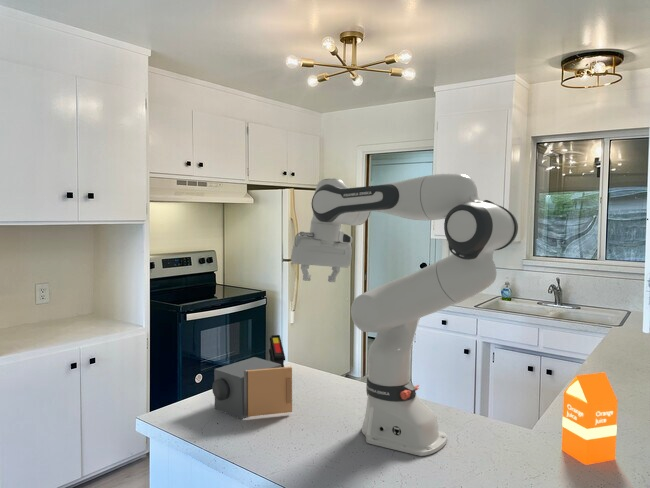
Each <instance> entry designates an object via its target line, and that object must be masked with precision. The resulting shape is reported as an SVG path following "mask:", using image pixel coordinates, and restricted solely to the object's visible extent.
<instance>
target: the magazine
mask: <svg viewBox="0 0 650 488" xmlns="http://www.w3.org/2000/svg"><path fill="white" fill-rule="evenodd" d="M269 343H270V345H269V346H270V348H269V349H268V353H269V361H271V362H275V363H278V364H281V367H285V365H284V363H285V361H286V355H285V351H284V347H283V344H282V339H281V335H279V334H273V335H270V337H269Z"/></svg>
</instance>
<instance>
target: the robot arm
mask: <svg viewBox="0 0 650 488" xmlns="http://www.w3.org/2000/svg"><path fill="white" fill-rule="evenodd" d="M311 211H312V219H311V221H310V229H309V232H306V231H300V232H298V233H296V235H295V236H294V243H293V246H292V249H291V250H292V251H291V255H290V261H291V262H292V264H296V265H300V270H301V272H302V274H303V275H302V280H303V281H305V282H310V281H311V278H312V274H309V269H310V266H319V267H331V270H332V272H331V274H330V275H328V279H327V282H329V283H336V278H337V276H338V274H339V273H340V271H341V268H344V269H348V268H349V267H350V266H351V264H352V254H353V251H352V250H353V248H352V245H351V244H352V243H353V237H352V236H351V235H349V234H348V233H346V232H345V231H343V230H342V229H341V227H342V226H341V225H347V226H353V227H354V226H362V225H363V224H364V223H366V222H367V221H368V220H369V219H368V218H370V215H371V212H377V213H381V214H382V213H383V214H388V215H392V216H395V217H399V218H402V219H407V220H413V221H436V220H437V221H438V220H444V222H443V229H444V234H445V238H446V241H447V242H448V243H447V244H448V250H449V251H450V252H451V254H450V255H449V256H445V257H444V258H442V259H439V260H437V261H436V262H433V263H431V264H430V265H427V266H424V267H423V268H421V269H418V270H417V271H414V272H412V273H409V274H406V275H403V276H401V277H398V278H396V279H393V280H391V281H388V282H386V283H384V284H381V285H378V286H376V287H373V288H371V289H369V290H367V291H365V292H363V293H362V294H360V295H358V296H357V297H355V298H354V300H353V301H352V302H351V303H352V304H351V306H350V315H351V320H352V322H353V324H354V325H355V327H356V328H357V329H359V331H361V332H364V333H372V334H373V333H376V336H375V338H374V340H373V342H371V345H370V346H369V349H368V358H367V360H368V364H367V365H368V369H367V370H368V371H367V373H368V375H367V378H366V388H365V389H366V395H367V400H366V401H367V402H366V407H365V409H366V410H365V414H364V420H363V423H362V426H361V433H362V434H363V435H364V436H365V441H366V443H367V444H370V445H373V446H377V447H381V448H387V449H389V450H390V449H391V450H394V451H398V452H403V453H407V454H411V455H415V456H420V457H424V456H429V455H432V454H435V453H437V452H439V451H440V450H441V449H442V448H443V447H445V446H446V444H447V443H448V434H447V433H446V432H444V431H442V430H440V428H439V422H438V418H437V416H436V413H435V412H434V411H433V410H432V409H430V407H428V406H427V404H425V403H424V402H423V401H422V399H420V397H419V396H417V392H416V391H418V390H419V389H420V384H416V385H414V384H413V381H412V379H411V364H412V363H411V359H412V358H411V357H412V356H411V354H412V348H413V342H414V340H415V336H416V331H417V329H418V326H419V325H418V324H419V322H420V319H422V318H423V317H427V316H430V315H431V314H434V313H437V312H440V311H442V310H444V309H447V308H449V307H452V306H454V305H456V304H460V303H462V302H465V301H467V300H469V299H471V298H473V297H475V296H476V295H478V294H480V293H482V292H483V291H485V290H486V289H488V288H490V287H491V286H492V285H493V284H494V282H495V281H496V278H497V267H496V264H495V261H494V259H493V255H494V251H499V250H502V249H504V248H506V247H508V246H509V245H510V244H512V243H513V242H514V241H515V239H516V238H517V235H518V232H519V223H518V220H517V218H516V217H515V215H514V214H513V213H512V212H511V211H509V210H508V209H507V208H505V207H504V206H502V205H500V204H497V203H494V202H493V201H490V200H487V199H484V200H481V199H480V198H479V196H478V189H477V185H476V182H475V181H474V180H473V179H472V178H471V177H470V176H468V175H466V174H464V173H440V174H439V173H437V174H430V175H429V174H428V175H424V176H418V177H414V178H408V179H404V180H400V181H395V182H388V183H384V184H379V185H376V184H375V185H368V186H359V187H358V186H357V187H349V186H347V185H346V184H345V182H344V180H341V179H337V178H324V179H321V180H320V181H318V183H317V184H316V187H315V191H314V194H313V196H312V199H311Z"/></svg>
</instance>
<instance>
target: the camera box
mask: <svg viewBox="0 0 650 488" xmlns="http://www.w3.org/2000/svg"><path fill="white" fill-rule="evenodd" d="M269 368H281V364H278V363H275V362H271V361H270V360H267V359H263V358H260V357H256V356H253V357H250V358H246V359H244V360H240V361H237V362H234V363H230V364H226V365H224V366H221V367H217V368H213V370H214V373H213V375H214V377H213V379H214V380H213V383H212V387H211V389H212V394H213V396H214V409H215V410H217V409H218V410H217V411H219V410H220V411H219V412H222V411H223V412H222V413H224V412H226V413H225V414H227V413H228V414H227V415H229V414H230V416H232V415H233V417H234V416H235V418H237V417H238V418H237V419H239V418H240V420H243V418H244V419H247V418H248V416H244V370H257V369H269Z"/></svg>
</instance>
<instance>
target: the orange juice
mask: <svg viewBox="0 0 650 488" xmlns="http://www.w3.org/2000/svg"><path fill="white" fill-rule="evenodd" d="M562 404H563V405H562V407H563V408H562V426H561V427H562V428H561V429H562V432H561V434H562V435H561V451H563V452H564V453H566V454H567V455H569V456H571V457H572V458H573V459H575V460H577V461H578V462H580V463H582V464H583V465H587V466H588V465H592V464H593V465H594V464H597V463H604V462H609V461H616V445H617V444H616V443H617V433H618V432H617V431H618V430H617V429H618V428H617V427H618V425H617V424H618V423H617V422H618V421H617V420H618V399H617V396H616V394H615V392H614V390H613V387H612V385H611V383H610V381H609V378H608V376H607V374H606V372H605V371H603V372H594V373H587V374H578V375H576V376H575V377H574V378H573V379H572V381H571V382H570V384H569V385H568V386H567V388H566V389H565V390H564V391H563V403H562Z"/></svg>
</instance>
